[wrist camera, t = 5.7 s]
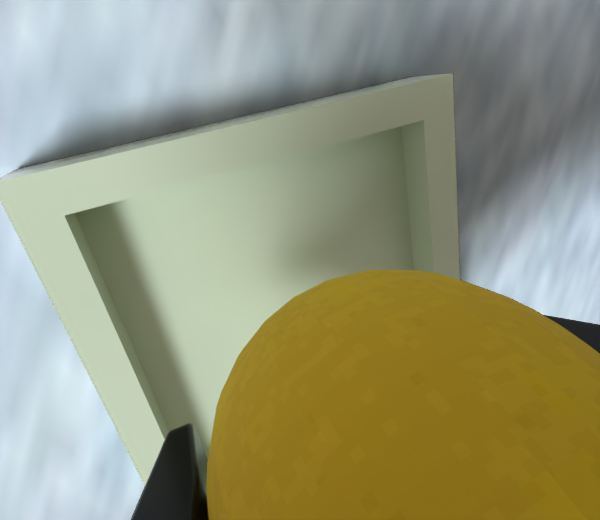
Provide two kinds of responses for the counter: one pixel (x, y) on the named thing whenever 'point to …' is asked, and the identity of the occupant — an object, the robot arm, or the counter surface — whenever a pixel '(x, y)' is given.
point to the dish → (231, 237)
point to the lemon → (407, 409)
